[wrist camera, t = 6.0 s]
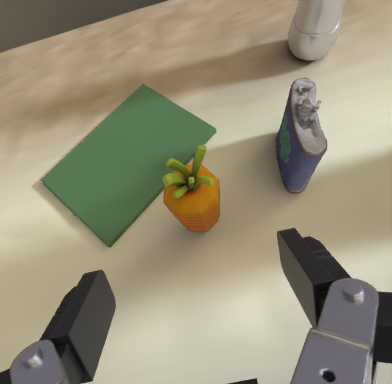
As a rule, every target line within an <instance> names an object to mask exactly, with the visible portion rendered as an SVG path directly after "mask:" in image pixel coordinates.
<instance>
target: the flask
mask: <svg viewBox="0 0 392 384" xmlns="http://www.w3.org/2000/svg"><path fill="white" fill-rule="evenodd" d="M315 96H316V85H315V83H314V82H313V81H311V80H310V79H308V78H300V79H297V80H296V81H294V82H293V84H292V85H291V89H290V92H289V97H288V101H287V105H286V108H285V112H284V116H283V119H282V123H281V126H280V130H279V132H278V137H277V141H276V142H277V144H276V148H277V149H276V155H277V160H278V165H279V169H280V172H281V177H282V179H283V183H284V185H285V187H286V188H287V189H288V191H290V192H292V193H295V192H296V193H299V192H302V191H303V190H304V189H305V188H306V185H307V184H308V181H309V180H310V177H311V175H312V174H313V172H314V170H315V168H316V166H317V165H318V163H319V162H320V160H321V158H322V156H323V155H324V153H325V152H326V150H327V140H326V138H325V136H324V134H323V131H322V130H321V127H320V123H319V119H318V115H317V111H316V110H318V109H319V108H320V103H321V101H320V100H318V103H317V104H316V102H315Z"/></svg>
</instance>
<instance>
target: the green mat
mask: <svg viewBox="0 0 392 384" xmlns="http://www.w3.org/2000/svg"><path fill="white" fill-rule="evenodd" d="M215 132H216V128H214V127H213V126H211V125H209V124H208V123H206V122H204V121H203V120H201V119H200V118H198V117H196V116H195V115H193V114H191V113H190V112H188V111H187V110H185V109H183V108H182V107H180V106H178V105H177V104H175V103H173V102H172V101H170V100H169V99H167V98H165V97H164V96H162V95H160V94H159V93H157V92H156V91H154V90H152V89H151V88H149V87H147V86H146V85H144V84H143V85H141V86H140V87H139V88H138V89H137V90H136V91H135V92H134V93H133V94H132V95H131V96H130V97H129V98H128V99H127V100H126V101H124V102H123V103H122V104H121V105H120V106H119V107H118V108H117V109H116V110H115V111H114V112H113V113H112V114H111V115H110V116H109V117H107V118H106V119H105V120H104V121H103V122H102V123H101V124H100V125H99V126H98V127H97V128H96V129H95V130H94V131H93V132H92V133H90V134H89V135H88V136H87V137H86V138H85V139H84V140H83V141H82V142H81V143H80V144H79V145H78V146H77V147H76V148H75V149H73V150H72V151H71V152H70V153H69V154H68V155H67V156H66V157H65V158H64V159H63V160H62V161H61V162H60V163H59V164H58V165H56V166H55V167H54V168H53V169H52V170H51V171H50V172H49V173H48V174H47V175H46V176H45V177H44V178H43V179H42V180H41V181H42V182H43V183H44V184H45V185H46V186H47V187H48V188H49V189H50V190H51V191H52V192H53V193H54V194H55V195H56V196H57V197H58V198H59V199H60V200H61V201H62V202H63V203H64V204H65V205H66V206H67V207H68V208H69V209H70V210H71V211H73V212H74V213H75V214H76V215H77V216H78V217H79V218H80V219H81V220H82V221H83V222H84V223H85V224H86V225H87V226H88V227H89V228H90V229H91V230H92V231H93V232H94V233H95V234H96V235H97V236H98V237H99V238H100V239H101V240H102V241H103V242H104V243H105V244H106V245H108V246H109V247H111V246H112V245H113V244H114V243H115V241H116V240H117V239H118V238H119V237H120V236H121V235H122V234H123V233H124V232H125V231H126V229H127V228H128V227H129V226H130V225H131V224H132V223H133V222H134V221H135V220H136V219H137V217H138V216H139V215H140V214H141V213H142V212H143V211H144V210H145V209H146V208H147V207H148V205H149V204H150V203H151V202H152V201H153V200H154V199H155V198H156V197H157V196H158V195H159V194H160V192H161V191H162V190H163V189H164V188H165V184H164V183H163V179H162V177H164V176H165V175H167V174H169V173H173V172H174V171H175V170H174V169H172V168H170V167H168V166H167V165H166V162H167V161H168V160H169V159H170V158H173V159H176V160H177V161H179V162H181V163H182V164H183V165H186V164H187V163H188V162H189V161H190V160H191V159H192V158H193V156H194V155H195V152H196V150H197V148H198V146H199V145H203V146H204V144H205V143H206V142H207V141H208V140H209V139H210V138H211V137H212V136H213V135H214V134H215Z"/></svg>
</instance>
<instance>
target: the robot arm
mask: <svg viewBox="0 0 392 384" xmlns="http://www.w3.org/2000/svg"><path fill="white" fill-rule="evenodd" d="M277 238H278V245H279V253H280V260H281V265H282V268H283V271H284V274H285V276H286V278H287V280H288V281H289V283H290V285H291V287H292V289H293V291H294V293H295V295H296V297H297V298H298V300H299V302H300V304H301V306H302V308H303V310H304V312H305V314H306V315H307V317H308V319H309V321H310V323H311V325H312V327H313V328H311V329H310V330H309V332H308V334H307V337H306V340H305V343H304V346H303V349H302V351H301V354H300V357H299V360H298V363H297V366H296V368H295V371H294V374H293V377H292V380H291V383H290V384H376V375H377V366H378V362H384V363H392V293H390V292H378V291H376V289H375V288H374V287H373V286H372V285H370V284H368V283H367V282H365V281H362V280H358V279H353V278H351V277H350V276H349V274H348V273H347V272H346V271H345V270H344V269H343V267H342V266H341V265H340V264H339V263H338V262H337V261H336V259H335V258H334V257H332V255H331V254H330V253H329V251H328V250H326V248H325V247H324V246H323V244H322V243H321V242H320V241H318V240H316V239H314V238H312V237H310V236H309V237H304V238H302V237H301V235H300V234H299V233H298V231H297V230H296V229H295V228H291V229H286V230H282V231H278V232H277ZM115 306H116V304H115V297H114V295H113V292H112V290H111V287H110V285H109V283H108V280H107V278H106V275H105V273H104V272H103V271H102V270H98V271H93V272H88V273H85V274H83V276H82V278H81V280H80V281H79V283H78V285H77V286H76V287H74V288H73V289H72V290H71V291H70V292H69V293H68V294H67V295H66V296H65V297H64V299H63V300H62V302H61V304H60V307H58V309H57V311H56V313H55V315H54V316H53V318H52V319H51V321H50V323H49V325H48V326H47V328H46V330H45V332H44V333H43V335H42V337H41V338H40V340H39V341H38V342H35V343H33V344H31V345H30V346H28V347H27V348H25V349H24V350H23V351H22V352H21V353H20V354H19V355H18V356H17V357H16V358H15V359H14V361H13V362H12V364H11V367H10V369H7V370H5V371H3V372H1V373H0V384H81V383H86V382H91V381H93V378H94V375H95V372H96V369H97V366H98V362H99V359H100V356H101V353H102V350H103V347H104V344H105V340H106V337H107V334H108V331H109V328H110V325H111V321H112V318H113V315H114V312H115ZM229 384H258V382H257V378H255V379H250V380H245V381H240V382H234V383H229Z"/></svg>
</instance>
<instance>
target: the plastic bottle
mask: <svg viewBox="0 0 392 384" xmlns="http://www.w3.org/2000/svg"><path fill="white" fill-rule="evenodd" d="M344 2H345V0H299V2H298V6H297V9H296V13H295V15H294V18H293V20H292V23H291V26H290V29H289V33H288V45H289V48H290V50H291V51H292V53H293V54H294V55H295V56H296V57H298V58H300V59H302V60H316V59H319V58H321V57H323V56H324V55H326V54H327V53H328V52H329V51H330V50H331V48H332V47H333V45H334V43H335V41H336V39H337V36H338V31H339V26H340V18H341V14H342V10H343V6H344Z"/></svg>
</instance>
